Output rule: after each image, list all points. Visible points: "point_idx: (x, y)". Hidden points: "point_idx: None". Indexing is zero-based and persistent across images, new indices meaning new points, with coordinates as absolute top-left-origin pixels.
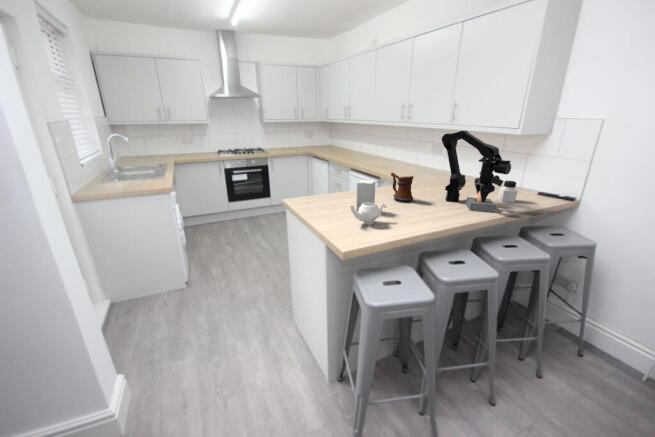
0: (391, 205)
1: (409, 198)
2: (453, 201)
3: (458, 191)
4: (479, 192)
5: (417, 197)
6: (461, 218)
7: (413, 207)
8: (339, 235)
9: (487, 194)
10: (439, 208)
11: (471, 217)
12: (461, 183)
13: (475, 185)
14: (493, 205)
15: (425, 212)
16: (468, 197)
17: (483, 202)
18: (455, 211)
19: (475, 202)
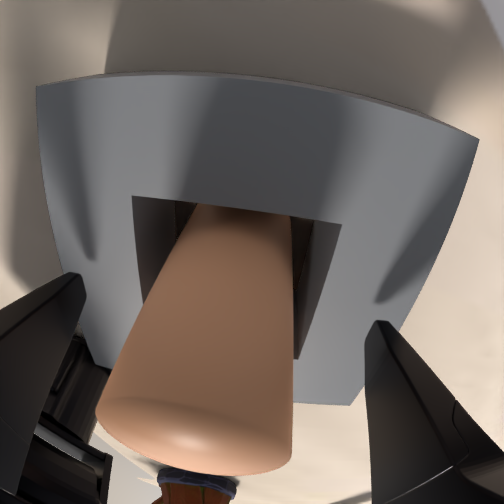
0: (277, 496)
1: (223, 494)
2: None
3: (55, 418)
4: (233, 474)
5: (126, 447)
6: (475, 395)
7: (294, 481)
8: None
9: (479, 448)
10: (301, 446)
11: (485, 358)
12: (50, 502)
13: (12, 478)
14: (463, 171)
15: (362, 468)
16: (96, 355)
17: (287, 267)
18: (362, 410)
19: (321, 371)
